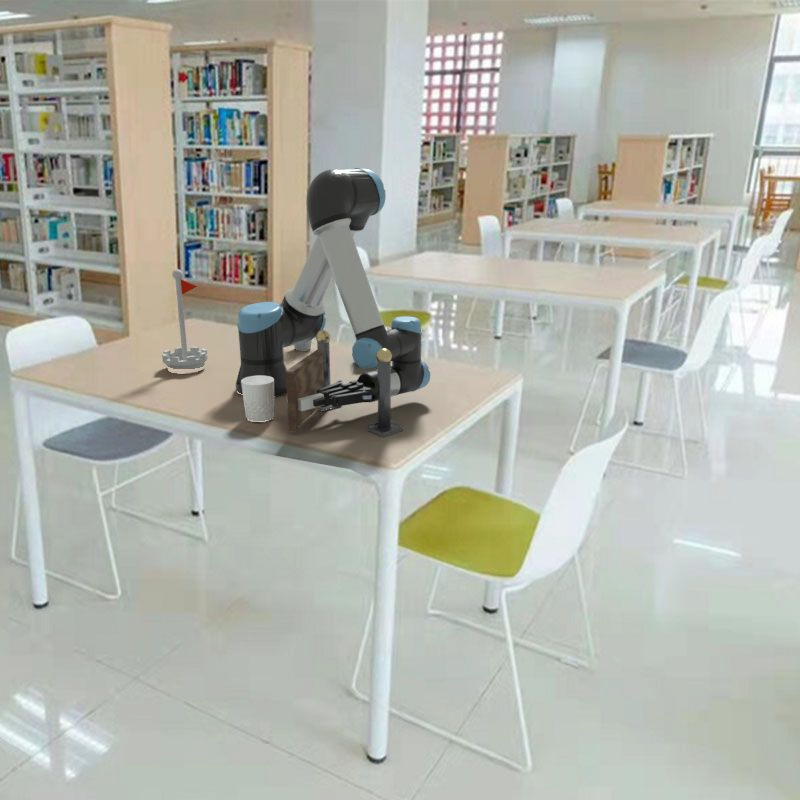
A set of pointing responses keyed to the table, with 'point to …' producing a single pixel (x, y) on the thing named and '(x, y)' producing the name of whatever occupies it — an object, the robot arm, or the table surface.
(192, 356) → the flag stand
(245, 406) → the white cup
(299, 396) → the panel
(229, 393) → the table surface
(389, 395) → the gate posts
